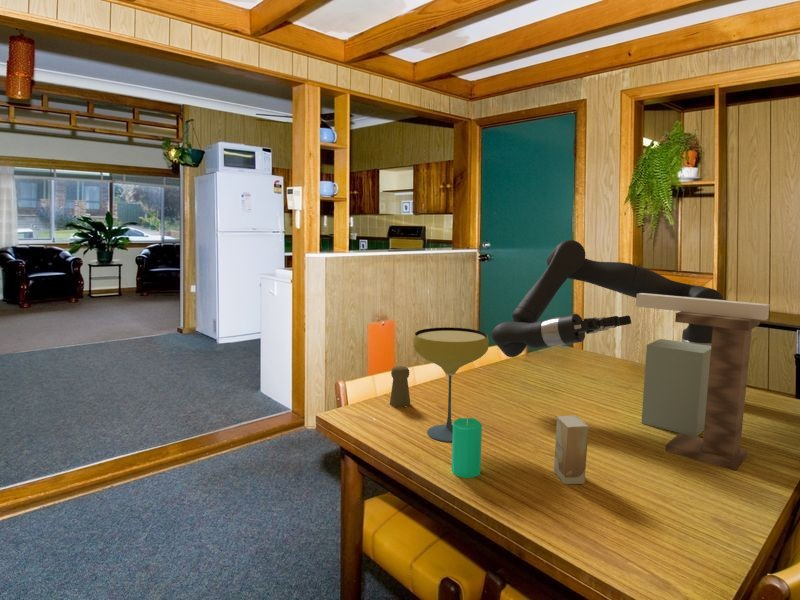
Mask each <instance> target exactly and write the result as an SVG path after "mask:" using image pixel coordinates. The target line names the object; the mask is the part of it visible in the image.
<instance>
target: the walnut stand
mask: <svg viewBox="0 0 800 600" xmlns="http://www.w3.org/2000/svg"><path fill="white" fill-rule="evenodd" d="M674 321H675V323H681V324H688V325H689V324H696V325H705V326H713V332H712V344H711V355H710V367H709V378H708V390H707V401H706V413H705V424H704V430H703V436H702V437H699V436H697V437H695V436H691V435H687V434H683V433H677V435H675V436H674V437H673V438H672V439H671V440H669V441H668V442H666V444H665V452H667V453H670V454H674V455H675V454H676V455H678V456H682V457H686V458H688V459H689V458H690V459H693V460H698V461H700V462H703V463H708V464H711V465H714V466H715V465H716V466H718V467H722V468H726V469H730V470H733V471H736V470H737V469H738V468H739V467H740V466H741V464H742V463H743V461H744V460H745V459H746V458H747V457H748V449H745V448H742V447H741V444H742V435H743V425H744V415H745V403H746V393H747V381H748V371H749V362H750V361H749V360H750V353H751V352H750V351H751V341H752V330H753V329H755V328H756V327H758V326H759V325H760V324H761V320H758V319H749V318H739V317H730V316H720V315H711V314H701V313H692V312H683V311H677V312H675V319H674Z"/></svg>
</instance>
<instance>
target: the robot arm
mask: <svg viewBox="0 0 800 600" xmlns="http://www.w3.org/2000/svg"><path fill="white" fill-rule="evenodd" d="M546 265H547V267H546V270H544V272H543V274H541V276H540V277H539V278H538V280H537V281H536V282H535V284H534V285H533V286H532V287H531V288H530V289H529V290H528V292H527V293H526V294H525V295H524V296H523V298H521V299H522V300H521V301H520V302H519V303H518V305H517V306H516V308H515V309H514V311H513V312H512V316H511V318H512V320H513V321H504V322H501V323H499V324H497V325H496V326H495V327H494V328H493V329H492V332H491V339H492V341H493V342H494V344H495V345H496V346H497V347H498V348H499V350H500V351H501V352H502V353H503V354H504V356H506V357H507V358H516V357H517V356H519V355H521V354H522V353H523V352H524V351H525V350H526V348H527V346H528V347H529V348H532V349H538V348H545V347H558V346H563V345H572V344H577V343H582V342H583V341H585V338H586V335H589V334H596V333H598V332H604V331H608V330H609V329H611V328H613V329H615V328H617V327H621V326H626V325H631V324H632V319H631V316H630V315H622V316H619V315H614V316H609V317H608V316H607V317H605V316H602V317H586V318H582V317H581V315H580V314H578V313H571V314H568V315H560V316H556V317H555V316H554V317H552V318H548V319H545V320H541V321H540V320H539V319H540V318H541V317H542V315H543V313H544V312H545V311H546V309H547V308H548V306H549V305H550V303H551V301H552V300H553V298H554V297H555V295H556V294H557V293H558V291H559V290H560V289H561V287H562V286H563V285H564V283H565V282H566V281H567V280H568V279H569V280H576V281H578V282H579V281H580V282H584V283H589V284H592V285H595V286H598V287H601V288H604V289H607V290H611V291H613V292H616V293H619V294H622V295H625V296H629V297H632V298H635V299H636V297H637V294H639V293H647V294H659V295H670V296H681V297H693V298H704V299H715V300H724V297H723V295H722V294H721V292H720V291H719V290H716V289H714V288H711V287H706V286H702V285H693V284H689V283H684V282H679V281H675V280H672V279H669V278H667V277H665V276H663V275H661V274H659V273H658V272H655V271H653V270H651V269H648V268H645V267H642V266H639V265H635V264H632V263H629V262H622V261H597V260H592V259H589V258H586V251H585V247H584V246H583V245H582V244H581V243H580V242H579V241H577V240H574V239H573V240H572V239H567V240H564V241H562V242H560V243H558V244H557V245H556V247H554V249H552V250H551V252H550V253H549V254H548V256H547V259H546ZM712 332H713V326H705V325H696V324H688V326H687V327H685V328H684V329H683V331H682V334H681V342H686V343H693V344H700V345H707V346H711V344H712Z"/></svg>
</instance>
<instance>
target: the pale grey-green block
mask: <svg viewBox="0 0 800 600" xmlns="http://www.w3.org/2000/svg"><path fill="white" fill-rule="evenodd" d="M710 355H711V346H707V345H700V344H693V343H686V342H682V341H678V340H673V339H672V340H671V339H666V338H665V339H663V338H659V339H657V340H655V341H652V342H649V343H647V344H646V353H645V367H644V382H643V395H642V396H643V397H642V412H641V424H642V423H643V424H642V425H646V424H647V425H646V426H650V425H651V426H650V427H654V426H655V428H658V427H659V429H662V428H663V429H662V430H666V431H669V432H670V431H671V432H675V433H677V434H679V433H683V434H687V435H691V436H695V437H699V435H700V434H701V433H703V432H704V424H705V413H706V401H707V390H708V378H709V367H710Z"/></svg>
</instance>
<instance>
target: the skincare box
mask: <svg viewBox="0 0 800 600" xmlns="http://www.w3.org/2000/svg"><path fill="white" fill-rule="evenodd" d="M555 430H556V431H555V447H554V449H555V450H554V461H553V471H554V474H556V475H557V477H558V478H559V480H560V481H561V482H562V483H563V484H564V485H584V484H585V483H586V469H587V453H588V440H589V425H587V424H586V423H585V422H584V421H583V420H582V419H581V418H579V417H578V415H557V416H556V429H555Z"/></svg>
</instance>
